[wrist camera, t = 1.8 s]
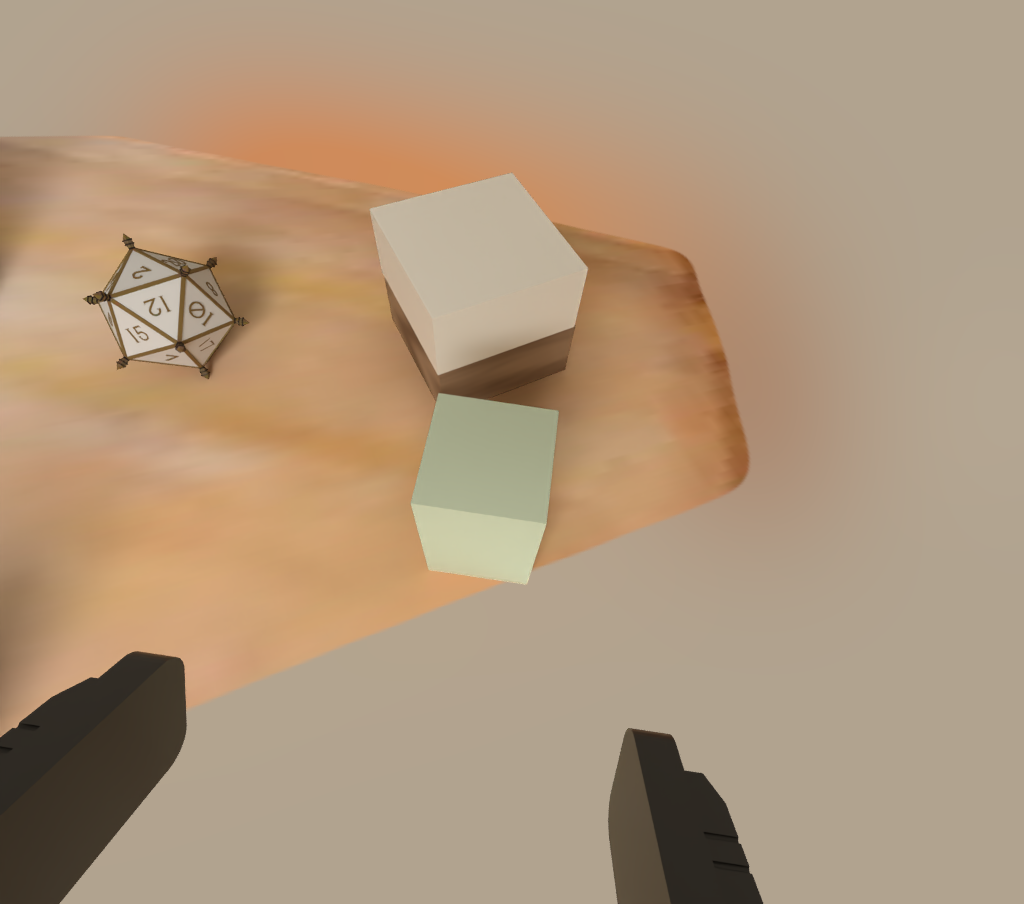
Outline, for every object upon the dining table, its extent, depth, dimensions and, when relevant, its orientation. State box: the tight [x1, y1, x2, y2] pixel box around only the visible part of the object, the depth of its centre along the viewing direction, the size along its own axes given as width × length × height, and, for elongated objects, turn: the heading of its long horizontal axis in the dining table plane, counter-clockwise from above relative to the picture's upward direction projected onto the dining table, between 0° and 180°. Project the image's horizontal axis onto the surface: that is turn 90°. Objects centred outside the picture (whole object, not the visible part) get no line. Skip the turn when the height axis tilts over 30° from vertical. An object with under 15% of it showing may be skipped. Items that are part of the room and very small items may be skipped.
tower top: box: [370, 173, 588, 375], centre depth 34 cm, size 10×10×5 cm
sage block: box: [411, 393, 559, 585], centre depth 29 cm, size 6×6×10 cm
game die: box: [83, 234, 249, 379], centre depth 35 cm, size 9×8×10 cm
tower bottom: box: [385, 279, 575, 401], centre depth 38 cm, size 10×10×5 cm
